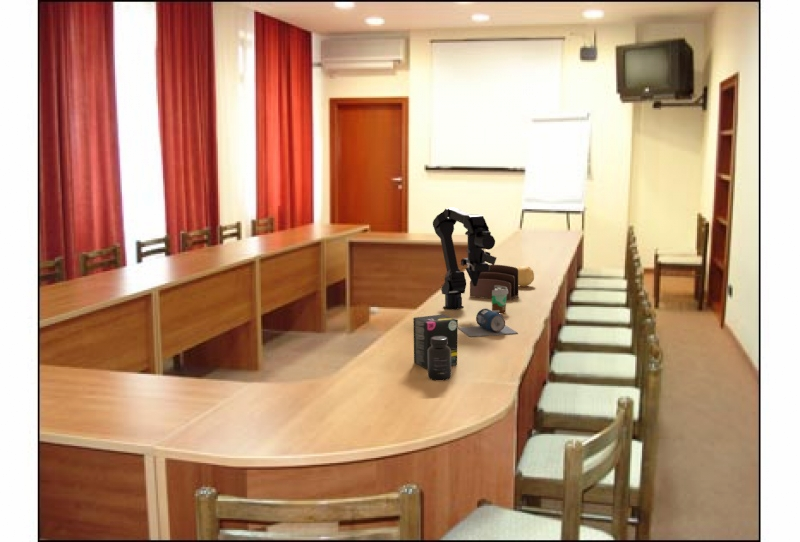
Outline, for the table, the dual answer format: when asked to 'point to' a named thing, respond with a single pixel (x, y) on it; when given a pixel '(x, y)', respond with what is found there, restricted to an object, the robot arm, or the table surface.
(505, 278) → the letter holder
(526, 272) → the stress ball
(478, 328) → the mat
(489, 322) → the soda can
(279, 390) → the table surface
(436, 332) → the tampon box
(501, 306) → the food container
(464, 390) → the table surface
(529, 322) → the table surface
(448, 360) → the supplement bottle
